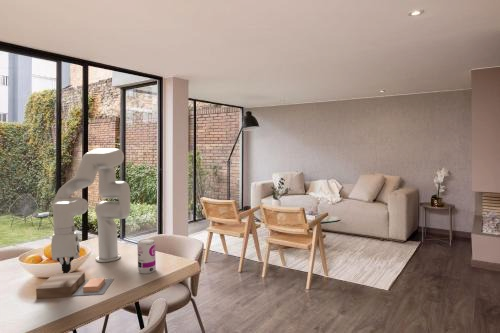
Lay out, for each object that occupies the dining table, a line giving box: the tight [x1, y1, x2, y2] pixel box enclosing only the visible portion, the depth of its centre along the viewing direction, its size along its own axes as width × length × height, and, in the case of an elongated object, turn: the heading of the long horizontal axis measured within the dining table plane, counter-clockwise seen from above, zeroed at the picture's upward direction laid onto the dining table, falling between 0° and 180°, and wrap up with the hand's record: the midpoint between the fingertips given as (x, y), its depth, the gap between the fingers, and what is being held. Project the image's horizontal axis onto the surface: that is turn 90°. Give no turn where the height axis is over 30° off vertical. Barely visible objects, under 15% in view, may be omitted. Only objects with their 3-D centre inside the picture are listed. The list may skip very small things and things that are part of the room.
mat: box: [71, 278, 115, 297], centre depth 143 cm, size 16×12×1 cm
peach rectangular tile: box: [83, 277, 106, 292], centre depth 142 cm, size 9×6×2 cm, turn 7°
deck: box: [35, 271, 86, 299], centre depth 141 cm, size 16×13×4 cm
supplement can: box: [137, 238, 157, 275], centre depth 161 cm, size 8×8×15 cm
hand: (66, 272), depth 141 cm, fingers closed
